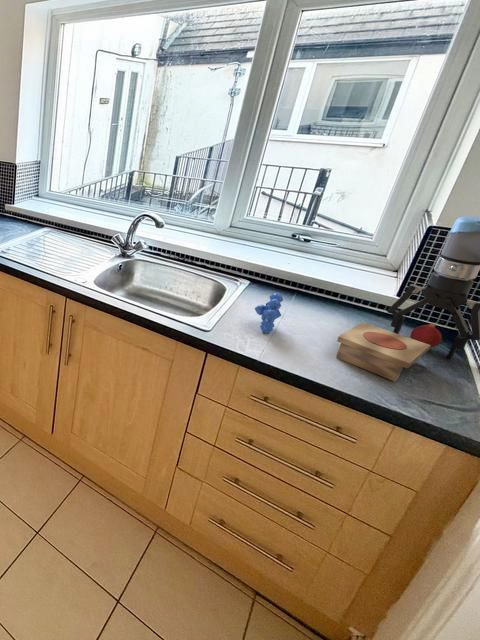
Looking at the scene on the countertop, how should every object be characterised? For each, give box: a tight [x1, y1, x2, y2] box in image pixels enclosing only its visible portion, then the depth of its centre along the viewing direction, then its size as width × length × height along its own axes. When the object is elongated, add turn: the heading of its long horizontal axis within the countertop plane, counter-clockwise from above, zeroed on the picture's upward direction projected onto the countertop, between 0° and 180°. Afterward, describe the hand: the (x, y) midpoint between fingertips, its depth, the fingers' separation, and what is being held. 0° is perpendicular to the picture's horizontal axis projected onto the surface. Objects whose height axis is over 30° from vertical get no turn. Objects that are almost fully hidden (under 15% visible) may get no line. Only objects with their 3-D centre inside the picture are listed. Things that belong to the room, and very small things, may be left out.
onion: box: [409, 323, 442, 348], centre depth 116 cm, size 6×6×8 cm
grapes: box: [254, 292, 284, 334], centre depth 124 cm, size 12×7×12 cm, turn 140°
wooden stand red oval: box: [335, 321, 431, 382], centre depth 111 cm, size 14×16×6 cm
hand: (420, 347), depth 118 cm, fingers open, 11 cm apart
